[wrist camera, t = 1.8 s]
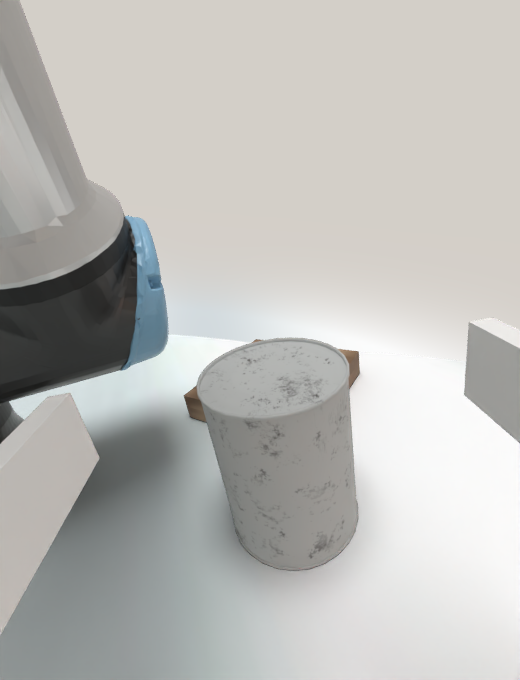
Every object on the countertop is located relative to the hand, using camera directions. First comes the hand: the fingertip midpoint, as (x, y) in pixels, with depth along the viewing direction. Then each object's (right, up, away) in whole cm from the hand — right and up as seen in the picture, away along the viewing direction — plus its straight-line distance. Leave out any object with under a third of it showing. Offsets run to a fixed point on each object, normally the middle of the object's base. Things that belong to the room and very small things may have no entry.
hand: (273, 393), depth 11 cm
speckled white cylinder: (+2, -11, +15) cm, 19 cm away
